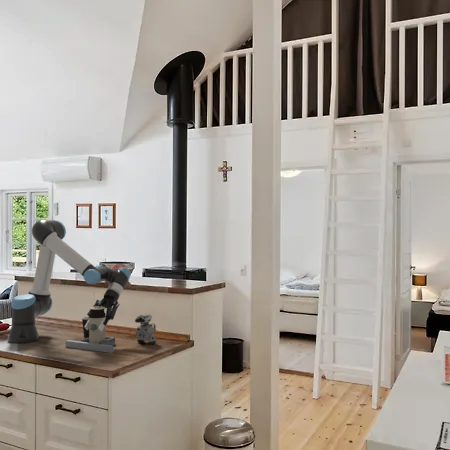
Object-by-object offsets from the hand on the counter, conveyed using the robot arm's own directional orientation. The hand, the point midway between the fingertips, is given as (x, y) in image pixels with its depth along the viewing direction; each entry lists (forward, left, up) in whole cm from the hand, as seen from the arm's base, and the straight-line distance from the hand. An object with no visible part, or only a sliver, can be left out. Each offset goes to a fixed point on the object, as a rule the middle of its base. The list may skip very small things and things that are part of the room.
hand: (92, 329), depth 249 cm
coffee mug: (-18, +21, -9) cm, 29 cm away
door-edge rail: (+1, -4, -9) cm, 10 cm away
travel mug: (0, +3, -8) cm, 9 cm away
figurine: (+19, +17, -9) cm, 27 cm away
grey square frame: (0, +3, -9) cm, 10 cm away
